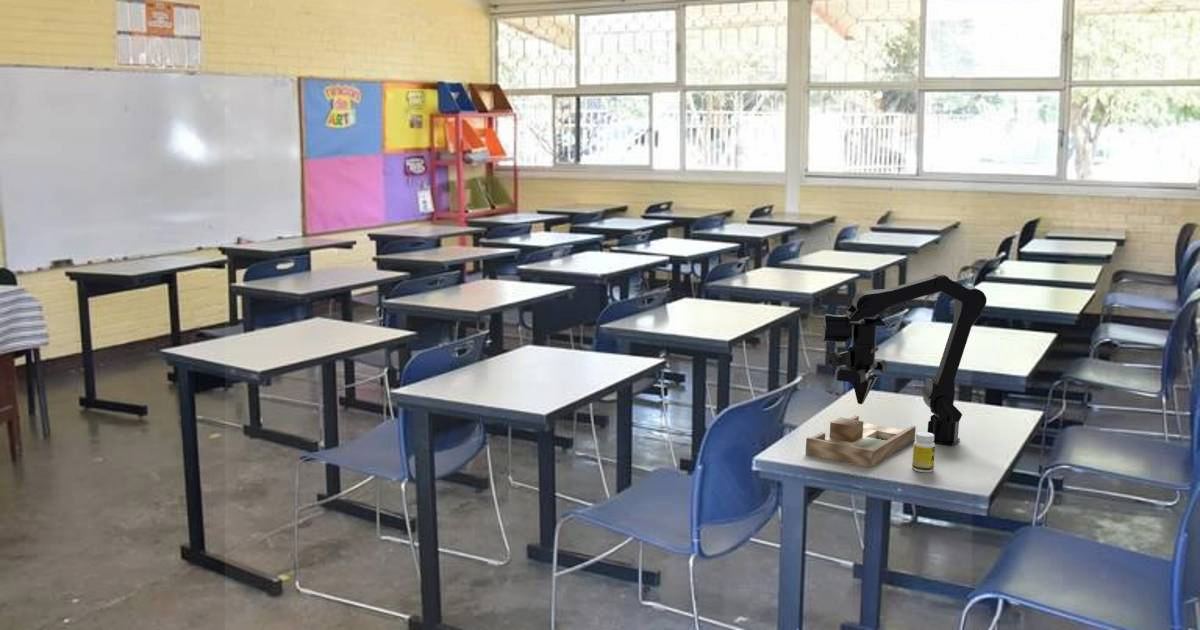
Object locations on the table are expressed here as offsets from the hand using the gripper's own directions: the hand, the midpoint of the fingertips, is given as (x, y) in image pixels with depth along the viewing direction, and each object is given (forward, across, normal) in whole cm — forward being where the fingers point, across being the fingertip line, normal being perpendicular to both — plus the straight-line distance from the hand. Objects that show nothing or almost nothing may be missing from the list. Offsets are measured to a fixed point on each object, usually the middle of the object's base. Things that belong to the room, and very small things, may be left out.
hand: (860, 403), depth 259 cm
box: (+9, +6, +3) cm, 11 cm away
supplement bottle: (+9, +14, +21) cm, 27 cm away
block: (+7, +8, 0) cm, 10 cm away
